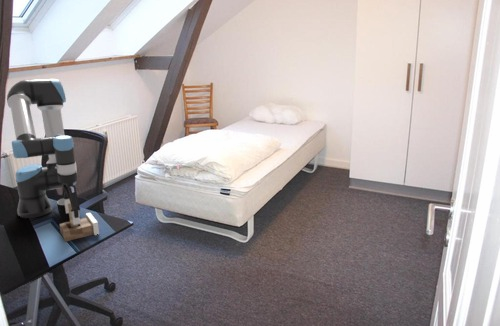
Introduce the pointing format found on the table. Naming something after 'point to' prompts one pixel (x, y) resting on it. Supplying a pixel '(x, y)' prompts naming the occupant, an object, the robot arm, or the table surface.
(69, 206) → the dowel
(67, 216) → the mug
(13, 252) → the table surface
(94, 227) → the rail
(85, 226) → the block
